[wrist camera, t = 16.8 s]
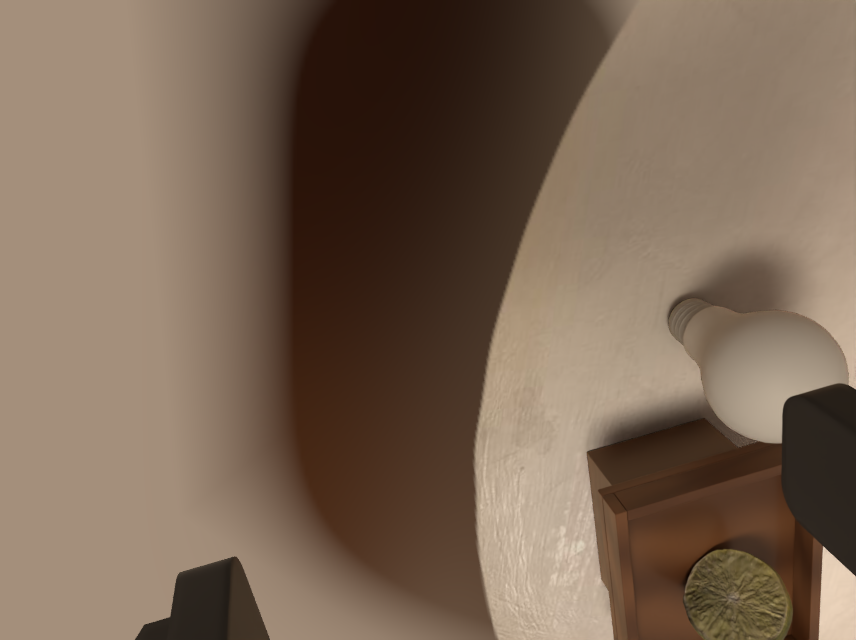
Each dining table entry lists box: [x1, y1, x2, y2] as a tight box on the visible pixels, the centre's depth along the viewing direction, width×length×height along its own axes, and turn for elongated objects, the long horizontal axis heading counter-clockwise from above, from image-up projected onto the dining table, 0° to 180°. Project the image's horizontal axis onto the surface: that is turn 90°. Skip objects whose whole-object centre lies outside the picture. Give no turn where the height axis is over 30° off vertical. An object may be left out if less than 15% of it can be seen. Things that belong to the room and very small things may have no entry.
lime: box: [683, 549, 793, 640], centre depth 37 cm, size 4×5×5 cm
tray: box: [587, 418, 823, 640], centre depth 42 cm, size 14×11×8 cm
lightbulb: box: [669, 298, 849, 443], centre depth 36 cm, size 6×6×11 cm
